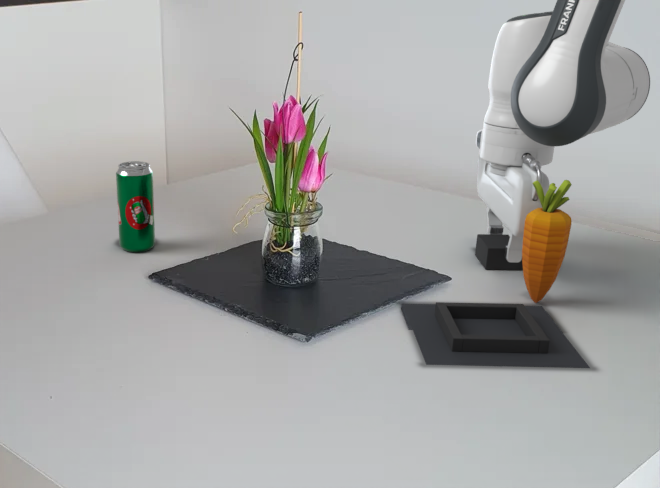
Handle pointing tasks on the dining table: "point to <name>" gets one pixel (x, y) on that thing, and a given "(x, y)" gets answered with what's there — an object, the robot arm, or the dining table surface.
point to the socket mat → (489, 335)
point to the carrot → (545, 240)
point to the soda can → (135, 206)
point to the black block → (494, 252)
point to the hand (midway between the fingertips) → (502, 249)
